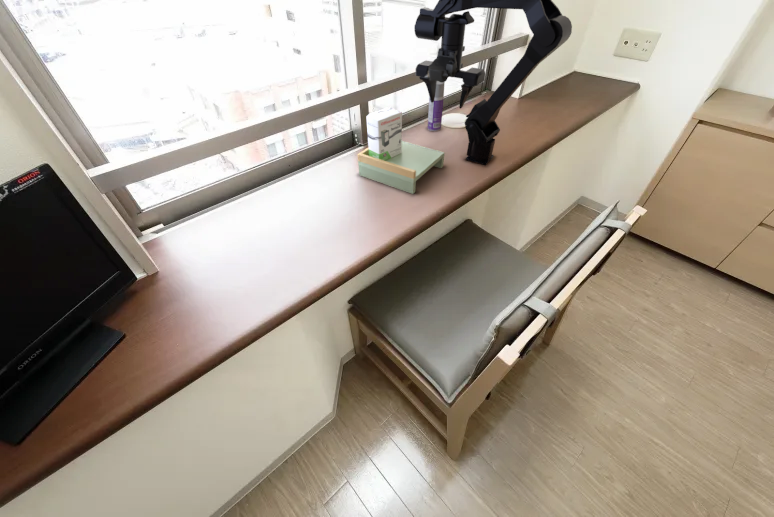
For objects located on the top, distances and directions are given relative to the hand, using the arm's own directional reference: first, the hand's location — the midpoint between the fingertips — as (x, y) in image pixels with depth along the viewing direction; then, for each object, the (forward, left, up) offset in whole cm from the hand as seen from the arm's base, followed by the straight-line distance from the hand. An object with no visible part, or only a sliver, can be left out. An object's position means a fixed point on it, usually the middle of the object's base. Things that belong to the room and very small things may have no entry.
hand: (446, 104), depth 99 cm
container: (+9, -11, -13) cm, 19 cm away
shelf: (+3, +19, -13) cm, 24 cm away
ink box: (+7, +21, -9) cm, 24 cm away
